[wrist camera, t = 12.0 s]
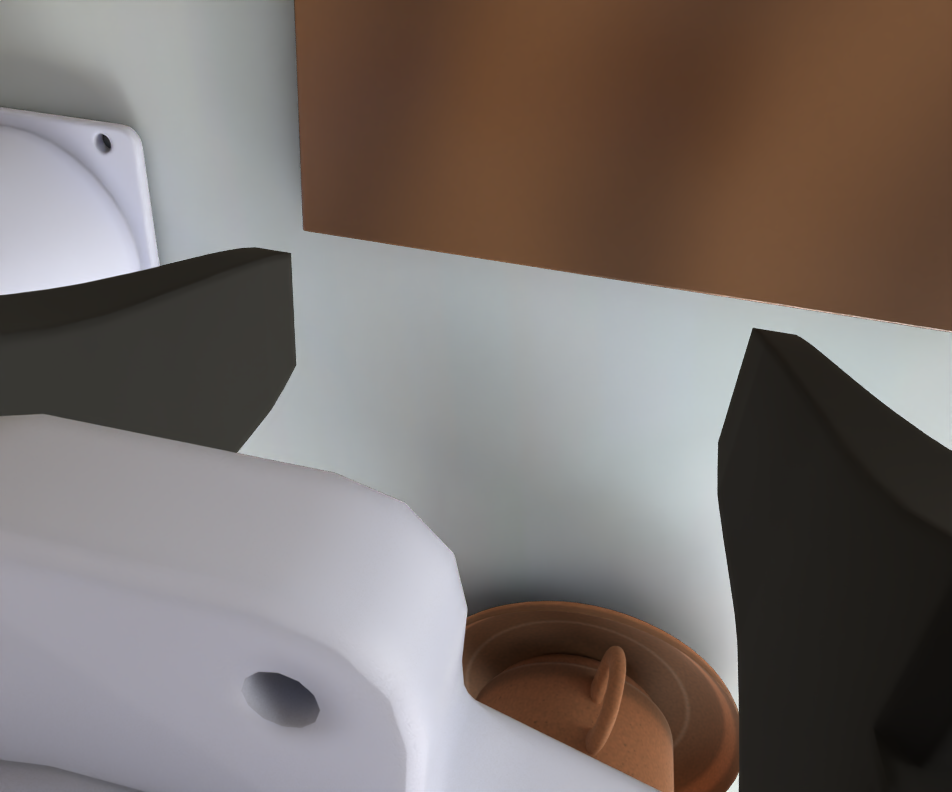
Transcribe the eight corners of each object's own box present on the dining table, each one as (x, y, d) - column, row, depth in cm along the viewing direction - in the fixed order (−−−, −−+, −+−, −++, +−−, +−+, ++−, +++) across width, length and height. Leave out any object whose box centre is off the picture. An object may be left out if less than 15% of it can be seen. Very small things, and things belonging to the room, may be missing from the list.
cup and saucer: (400, 561, 28) (339, 702, 23) (748, 579, 25) (768, 746, 20) (447, 768, 34) (407, 919, 29) (734, 803, 31) (747, 977, 26)
